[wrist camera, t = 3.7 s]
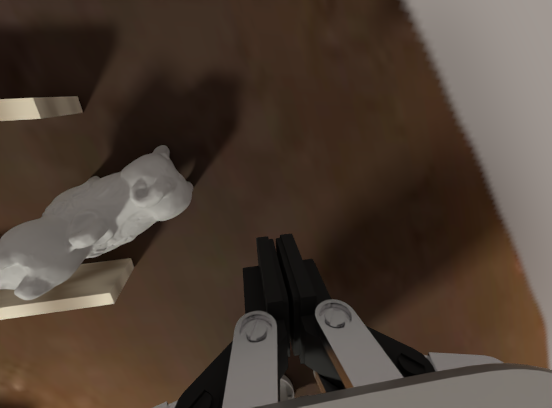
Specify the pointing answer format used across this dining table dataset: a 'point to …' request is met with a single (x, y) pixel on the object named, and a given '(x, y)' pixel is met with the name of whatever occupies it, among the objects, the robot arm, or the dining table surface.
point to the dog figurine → (91, 223)
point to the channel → (88, 277)
